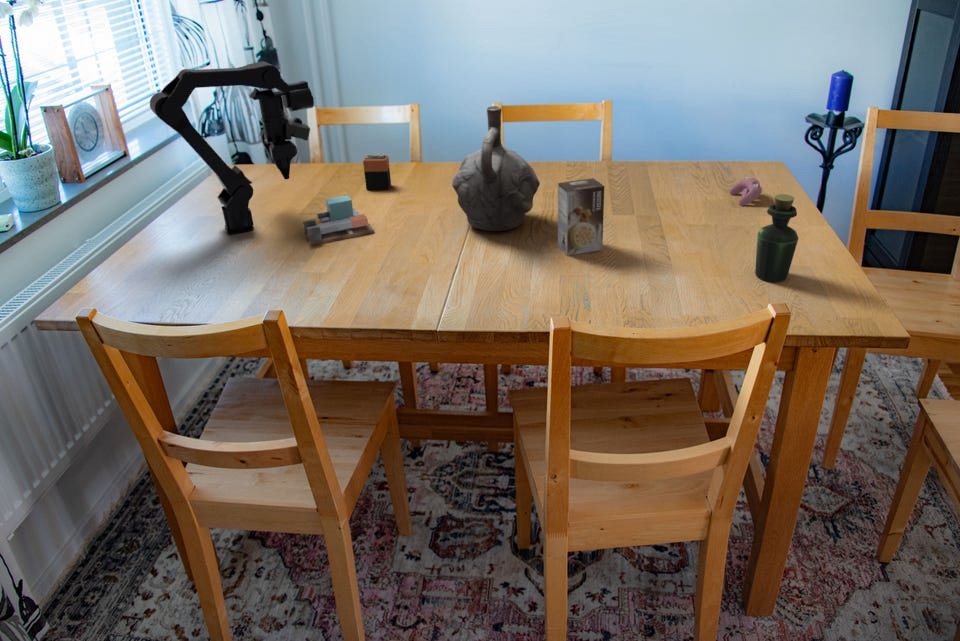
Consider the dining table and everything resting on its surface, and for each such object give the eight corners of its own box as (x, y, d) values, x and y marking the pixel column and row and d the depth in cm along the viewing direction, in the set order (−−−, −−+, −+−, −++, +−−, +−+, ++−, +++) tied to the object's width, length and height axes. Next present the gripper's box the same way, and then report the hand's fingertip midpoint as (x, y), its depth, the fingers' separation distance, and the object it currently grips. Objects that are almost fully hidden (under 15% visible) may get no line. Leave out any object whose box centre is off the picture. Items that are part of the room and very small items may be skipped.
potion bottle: (744, 276, 163) (756, 198, 154) (762, 264, 168) (775, 187, 159) (779, 288, 158) (794, 207, 149) (797, 275, 163) (812, 196, 154)
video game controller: (752, 211, 198) (768, 188, 195) (737, 205, 197) (753, 181, 194) (741, 198, 207) (755, 176, 204) (727, 192, 206) (741, 169, 203)
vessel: (548, 241, 183) (549, 118, 168) (458, 248, 181) (451, 124, 166) (532, 205, 204) (531, 93, 189) (451, 211, 202) (445, 98, 188)
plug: (320, 224, 195) (317, 206, 193) (316, 219, 199) (314, 201, 196) (353, 217, 198) (351, 200, 196) (349, 212, 202) (347, 195, 199)
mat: (327, 231, 194) (326, 227, 193) (318, 218, 202) (318, 214, 201) (364, 223, 197) (364, 220, 197) (354, 211, 205) (354, 207, 205)
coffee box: (592, 240, 182) (594, 177, 174) (602, 250, 177) (606, 186, 169) (556, 246, 181) (557, 182, 172) (566, 256, 175) (567, 191, 167)
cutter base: (310, 245, 186) (307, 229, 184) (305, 237, 191) (302, 220, 189) (374, 232, 192) (372, 216, 189) (367, 224, 196) (365, 209, 194)
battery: (389, 190, 219) (385, 156, 214) (366, 190, 219) (362, 157, 214) (391, 184, 223) (388, 152, 218) (368, 185, 223) (365, 152, 218)
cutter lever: (311, 236, 187) (310, 230, 186) (309, 232, 189) (307, 225, 188) (368, 224, 192) (367, 218, 191) (364, 220, 194) (363, 214, 193)
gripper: (312, 118, 185) (321, 179, 193) (297, 102, 200) (306, 159, 208) (267, 125, 181) (278, 186, 189) (254, 108, 196) (265, 165, 204)
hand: (283, 173), depth 198 cm, fingers open, 9 cm apart
